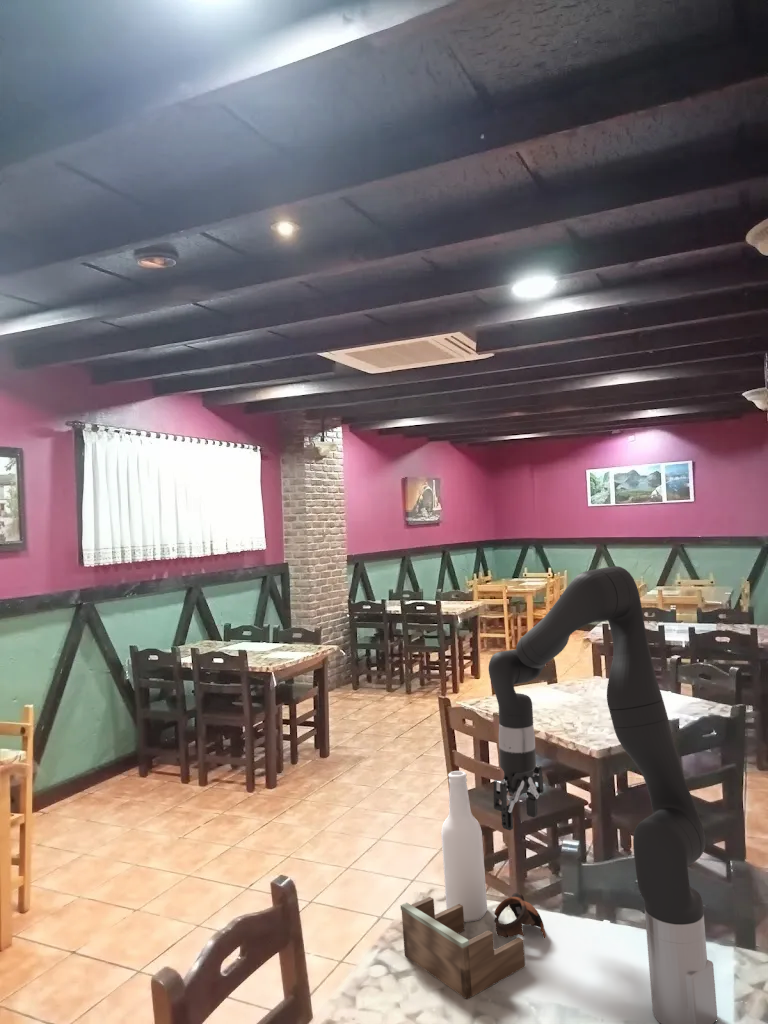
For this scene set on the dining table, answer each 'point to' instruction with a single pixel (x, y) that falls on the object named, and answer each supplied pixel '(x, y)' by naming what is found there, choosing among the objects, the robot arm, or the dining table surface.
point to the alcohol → (463, 853)
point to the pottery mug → (517, 917)
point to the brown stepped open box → (456, 949)
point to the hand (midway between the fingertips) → (520, 822)
